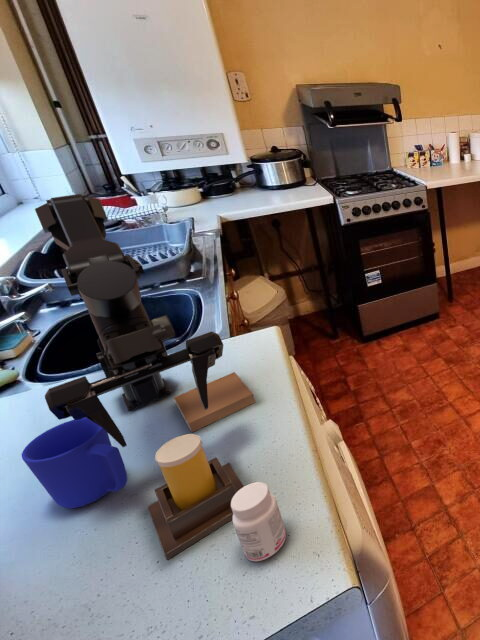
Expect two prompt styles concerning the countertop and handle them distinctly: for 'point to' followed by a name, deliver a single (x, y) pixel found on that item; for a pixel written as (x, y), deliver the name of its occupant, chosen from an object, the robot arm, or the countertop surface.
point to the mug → (76, 463)
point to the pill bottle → (257, 521)
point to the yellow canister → (186, 470)
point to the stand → (194, 512)
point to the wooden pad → (214, 401)
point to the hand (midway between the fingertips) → (167, 426)
